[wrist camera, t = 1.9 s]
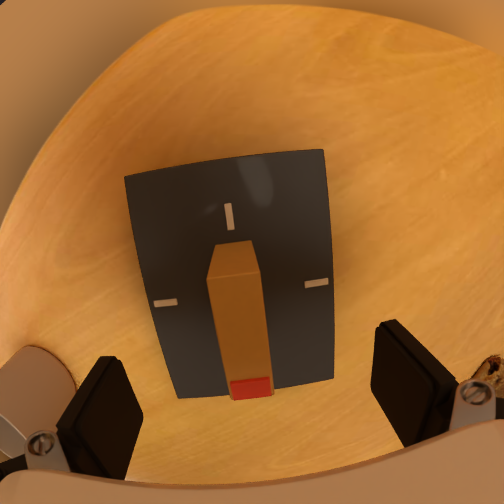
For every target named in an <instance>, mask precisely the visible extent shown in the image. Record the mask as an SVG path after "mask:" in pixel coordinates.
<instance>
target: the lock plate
mask: <svg viewBox="0 0 504 504" xmlns="http://www.w3.org/2000/svg"><path fill="white" fill-rule="evenodd" d="M124 180H125V187H126V194H127V201H128V207H129V213H130V219H131V224H132V230H133V235H134V240H135V245H136V250H137V255H138V259H139V264H140V269H141V273H142V277H143V282H144V286H145V290H146V294H147V298H148V302H149V306H150V310H151V313H152V317H153V321H154V324H155V328H156V332H157V335H158V338H159V342H160V345H161V348H162V352H163V355H164V358H165V361H166V365H167V368H168V371H169V374H170V377H171V380H172V383H173V386H174V389H175V391H176V394H177V397H178V398H179V399H181V398H199V397H213V396H224V395H230V393H229V389H228V384H227V380H226V376H225V371H224V366H223V362H222V357H221V352H220V348H219V343H218V338H217V333H216V328H215V323H214V318H213V313H212V308H211V302H210V297H209V292H208V286H207V281H206V279H207V275H208V271H209V267H210V263H211V259H212V255H213V252H214V248H215V245H219V244H226V243H234V242H241V241H249V240H251V241H252V244H253V248H254V252H255V255H256V259H257V262H258V266H259V270H260V274H261V282H262V291H263V299H264V307H265V316H266V324H267V333H268V341H269V349H270V358H271V367H272V375H273V384H274V389H280V388H286V387H292V386H298V385H303V384H309V383H314V382H319V381H324V380H329V379H333V378H334V344H335V323H334V278H333V255H332V238H331V223H330V210H329V198H328V187H327V177H326V168H325V159H324V150H323V149H311V150H297V151H286V152H275V153H265V154H256V155H247V156H239V157H232V158H224V159H217V160H210V161H204V162H197V163H191V164H185V165H179V166H174V167H168V168H163V169H157V170H152V171H147V172H142V173H138V174H133V175H128V176H125V177H124Z"/></svg>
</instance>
